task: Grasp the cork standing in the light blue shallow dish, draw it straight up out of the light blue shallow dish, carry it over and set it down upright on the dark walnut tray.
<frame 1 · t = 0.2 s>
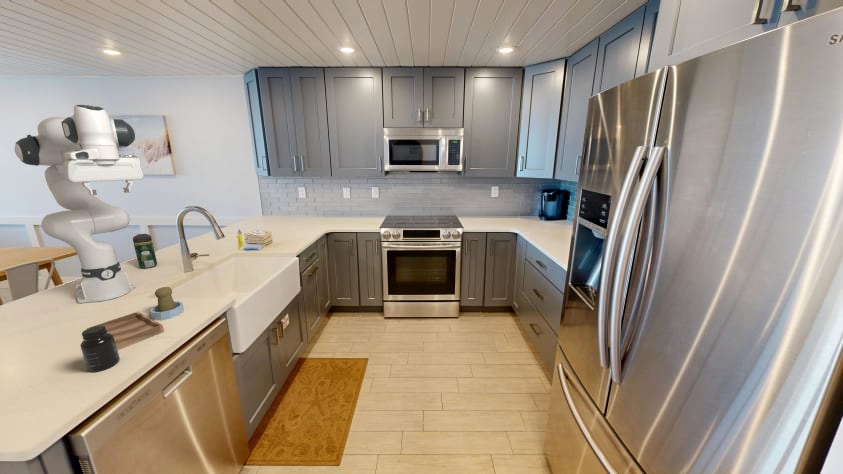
hand: (111, 193, 112), 47 cm above the worktop, fingers open, 8 cm apart
supplement bottle: (104, 365, 92), on the worktop
coffee jar: (148, 266, 175), on the worktop
light blue shallow dish: (168, 313, 122), on the worktop
tray: (126, 333, 109), on the worktop
cork: (168, 314, 122), resting in light blue shallow dish
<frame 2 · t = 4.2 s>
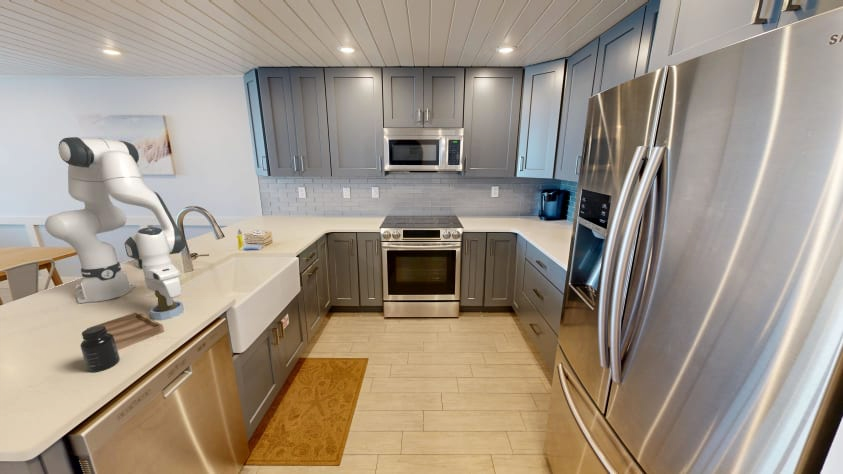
hand: (166, 303, 121), 5 cm above the worktop, fingers closed on cork, 4 cm apart
cork: (168, 314, 122), resting in light blue shallow dish, touching gripper
everything else where it was.
when the fingers open (6 cm above the worktop, at t = 10.2 s): cork stays where it is, resting on tray.
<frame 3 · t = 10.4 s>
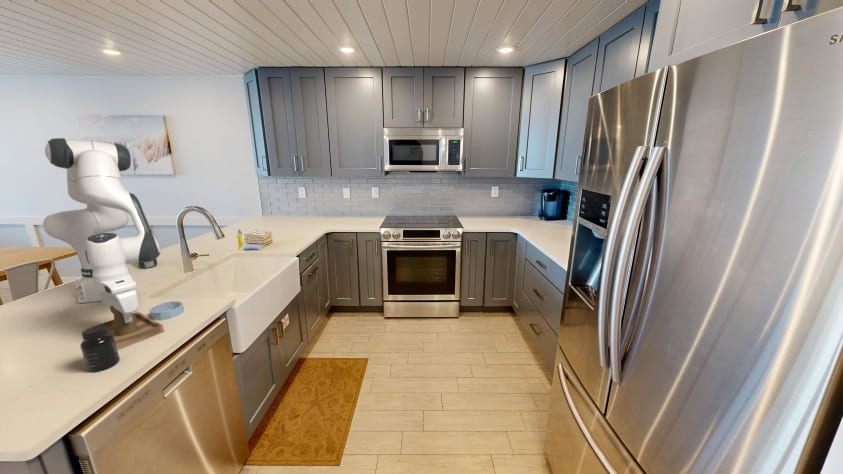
hand: (123, 318, 107), 6 cm above the worktop, fingers open, 7 cm apart
cork: (127, 331, 108), point 1 cm above the worktop, touching tray
everything else where it was.
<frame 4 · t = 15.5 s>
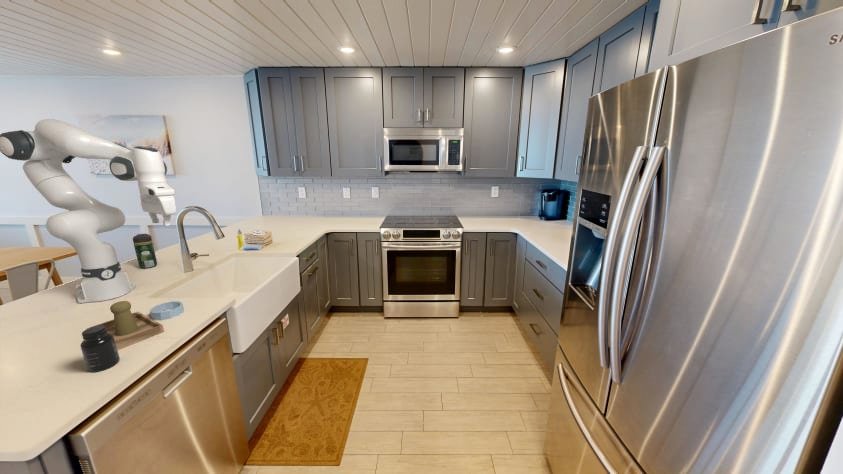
hand: (161, 224, 124), 34 cm above the worktop, fingers open, 8 cm apart
nothing on the worktop moved.
at the end: cork inside the target area on the tray (0.2 cm from its centre), point 0.6 cm above the tray's base; cork tilted 0°; the gripper is holding nothing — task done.
